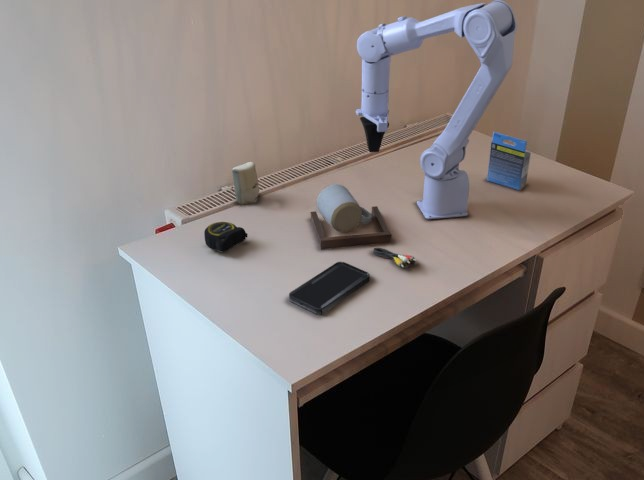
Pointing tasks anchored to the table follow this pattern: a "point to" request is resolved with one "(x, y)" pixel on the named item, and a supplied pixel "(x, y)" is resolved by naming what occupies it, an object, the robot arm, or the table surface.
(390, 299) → the table surface
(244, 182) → the beige upright block
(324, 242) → the frame
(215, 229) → the tape measure
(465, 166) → the table surface
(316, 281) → the phone
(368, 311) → the table surface
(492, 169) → the label tape box
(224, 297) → the table surface
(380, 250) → the composite cable
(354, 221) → the ceramic mug
